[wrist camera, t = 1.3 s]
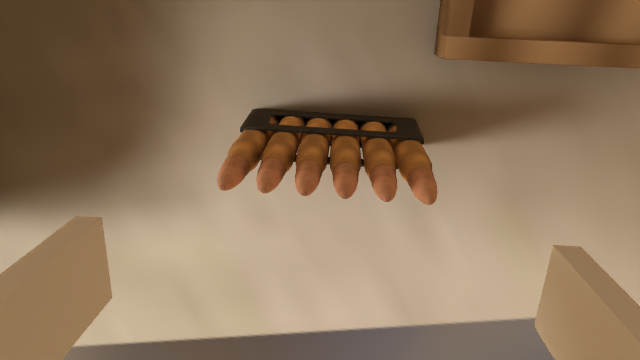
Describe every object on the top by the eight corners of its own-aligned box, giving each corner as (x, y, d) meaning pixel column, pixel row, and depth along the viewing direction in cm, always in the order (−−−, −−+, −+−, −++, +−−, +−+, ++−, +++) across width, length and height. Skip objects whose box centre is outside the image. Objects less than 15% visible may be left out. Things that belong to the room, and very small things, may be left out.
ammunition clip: (252, 135, 31) (200, 206, 20) (252, 108, 31) (198, 165, 19) (412, 146, 31) (450, 224, 20) (415, 118, 30) (457, 183, 19)
